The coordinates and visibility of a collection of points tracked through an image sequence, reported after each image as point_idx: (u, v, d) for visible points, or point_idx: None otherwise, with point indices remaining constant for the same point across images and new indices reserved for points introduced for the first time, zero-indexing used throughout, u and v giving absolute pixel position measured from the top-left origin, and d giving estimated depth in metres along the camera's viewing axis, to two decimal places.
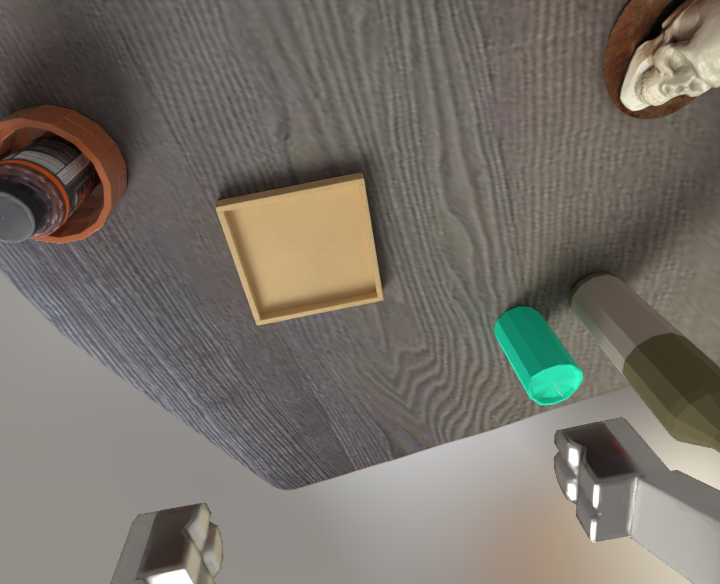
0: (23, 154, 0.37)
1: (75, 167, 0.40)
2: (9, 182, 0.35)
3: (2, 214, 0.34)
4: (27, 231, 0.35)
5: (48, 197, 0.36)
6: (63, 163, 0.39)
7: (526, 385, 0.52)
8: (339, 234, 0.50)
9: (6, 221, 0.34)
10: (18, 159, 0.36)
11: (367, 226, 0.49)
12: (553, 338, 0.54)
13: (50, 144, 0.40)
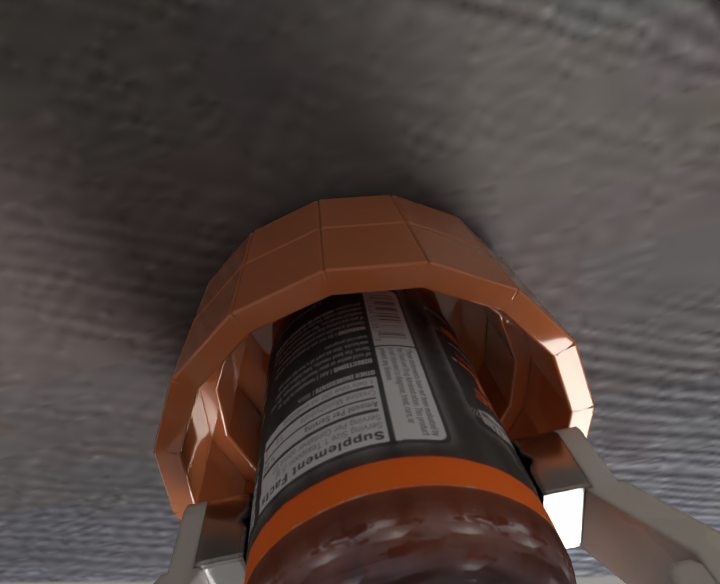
0: (270, 462, 0.10)
1: (394, 344, 0.11)
2: None
3: None
4: None
5: (475, 568, 0.07)
6: (366, 372, 0.10)
7: None
8: None
9: None
10: (270, 511, 0.09)
11: None
12: None
13: (294, 353, 0.12)
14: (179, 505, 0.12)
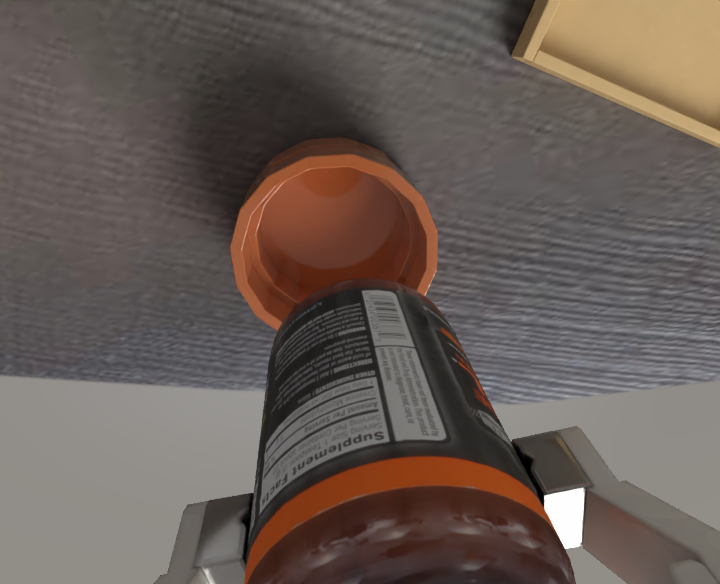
0: (270, 462, 0.10)
1: (394, 344, 0.11)
2: None
3: None
4: None
5: (474, 568, 0.07)
6: (366, 373, 0.10)
7: None
8: None
9: None
10: (270, 510, 0.09)
11: None
12: None
13: (295, 354, 0.12)
14: (239, 280, 0.25)
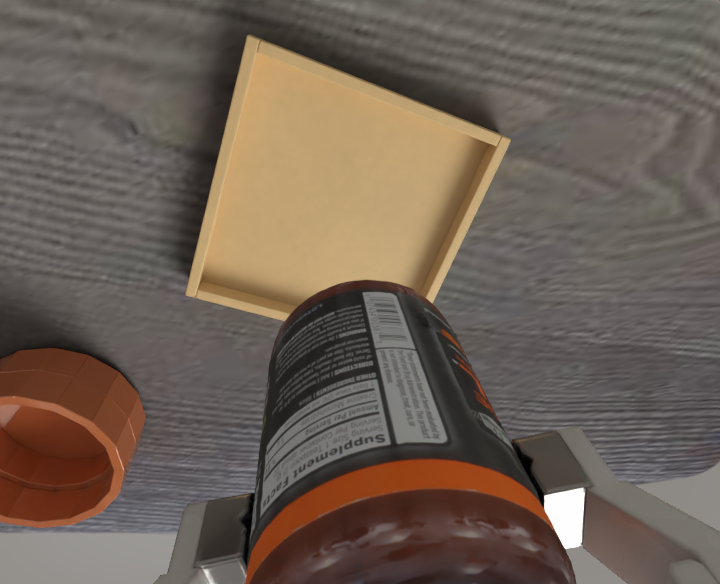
0: (271, 465, 0.10)
1: (394, 347, 0.11)
2: None
3: None
4: None
5: (476, 571, 0.07)
6: (367, 375, 0.10)
7: None
8: (341, 143, 0.26)
9: None
10: (271, 513, 0.09)
11: (346, 84, 0.24)
12: None
13: (296, 356, 0.12)
14: None
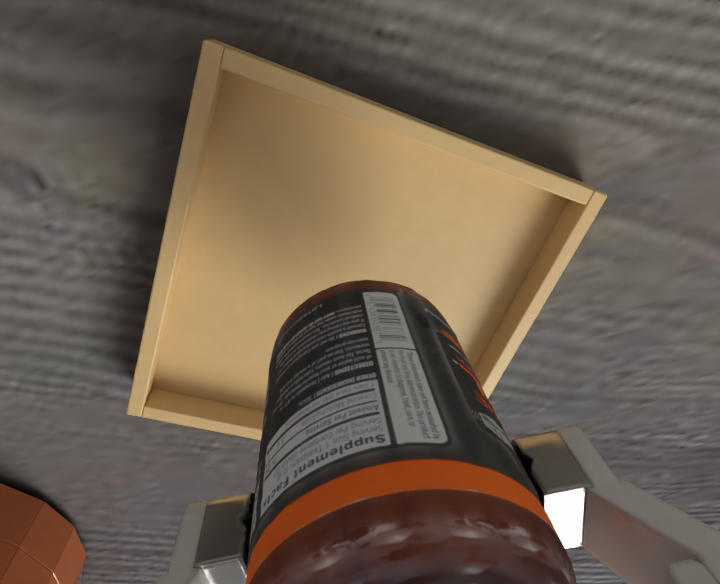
0: (271, 465, 0.10)
1: (394, 347, 0.11)
2: None
3: None
4: None
5: (476, 571, 0.07)
6: (367, 375, 0.10)
7: None
8: (353, 200, 0.18)
9: None
10: (271, 513, 0.09)
11: (362, 116, 0.15)
12: None
13: (296, 356, 0.12)
14: None
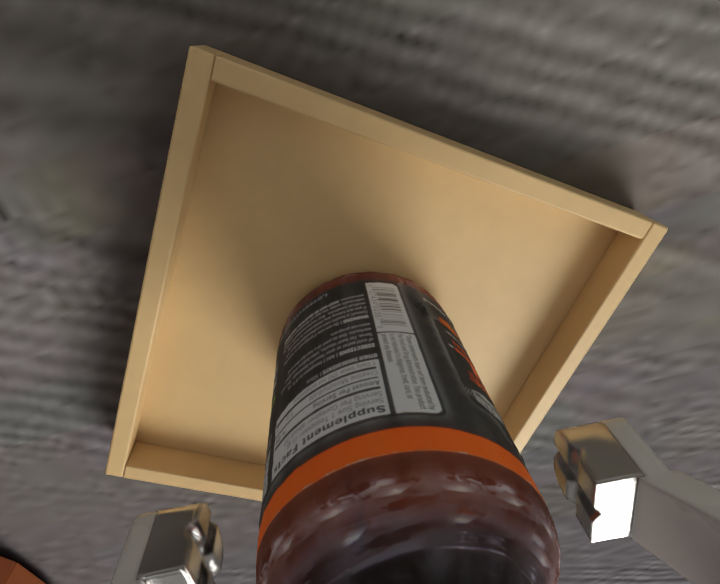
0: (281, 436, 0.11)
1: (395, 331, 0.12)
2: None
3: None
4: None
5: (465, 522, 0.08)
6: (369, 356, 0.11)
7: None
8: (368, 232, 0.15)
9: None
10: (282, 476, 0.10)
11: (382, 137, 0.13)
12: None
13: (303, 340, 0.13)
14: None
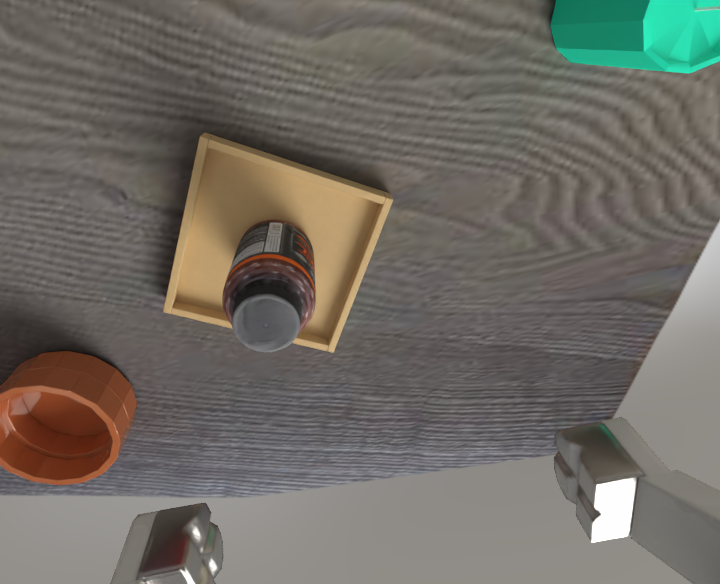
0: (231, 266, 0.32)
1: (273, 235, 0.34)
2: (240, 293, 0.29)
3: (262, 322, 0.29)
4: (291, 314, 0.29)
5: (276, 273, 0.30)
6: (261, 241, 0.33)
7: (657, 67, 0.26)
8: (272, 203, 0.37)
9: (270, 324, 0.29)
10: (230, 272, 0.31)
11: (270, 165, 0.34)
12: None
13: (243, 242, 0.35)
14: None
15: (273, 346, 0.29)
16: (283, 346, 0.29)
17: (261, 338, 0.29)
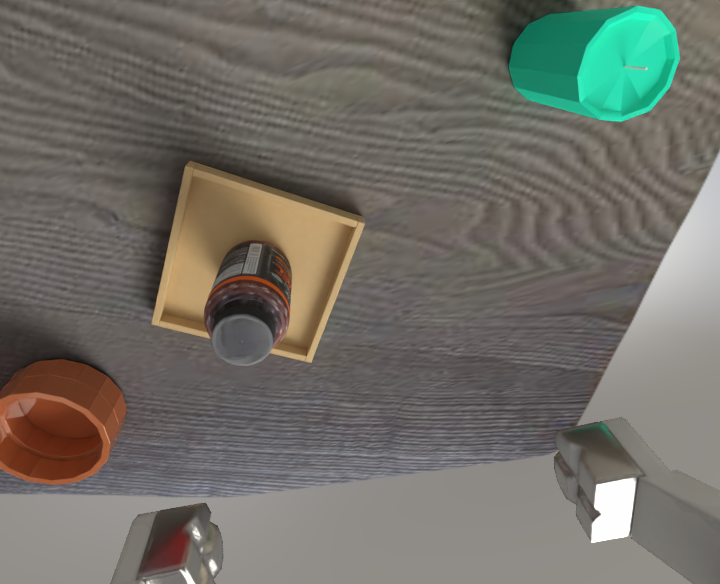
0: (213, 285, 0.35)
1: (253, 256, 0.37)
2: (219, 312, 0.32)
3: (238, 339, 0.32)
4: (265, 332, 0.31)
5: (252, 293, 0.33)
6: (241, 262, 0.36)
7: (592, 116, 0.29)
8: (253, 225, 0.40)
9: (246, 341, 0.32)
10: (211, 292, 0.34)
11: (251, 192, 0.37)
12: (569, 21, 0.30)
13: (225, 262, 0.38)
14: None
15: (249, 360, 0.32)
16: (258, 360, 0.32)
17: (238, 353, 0.32)
